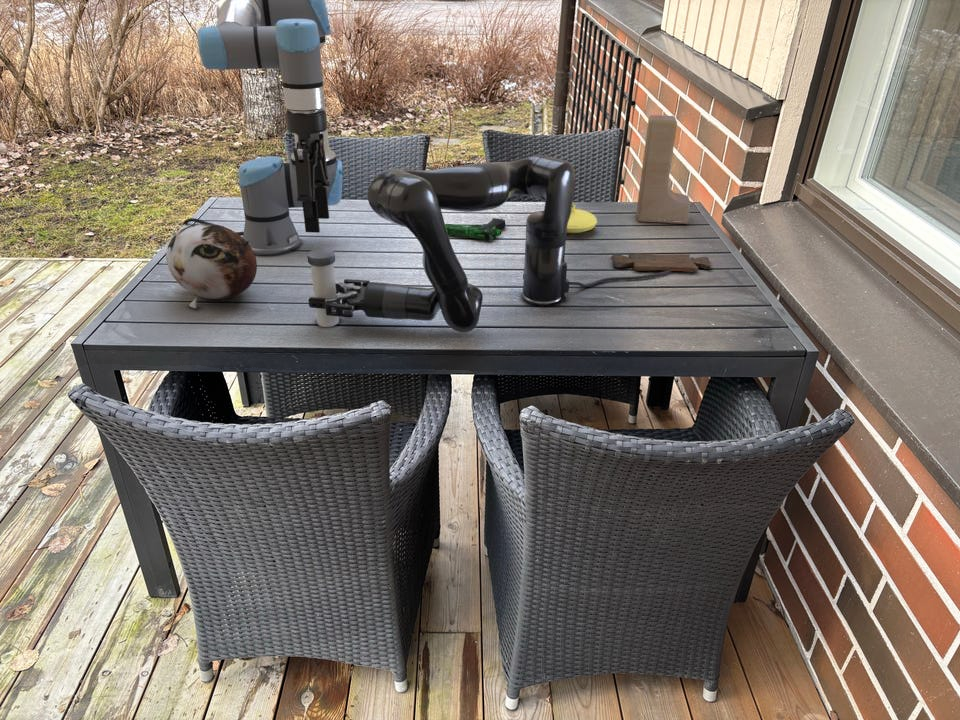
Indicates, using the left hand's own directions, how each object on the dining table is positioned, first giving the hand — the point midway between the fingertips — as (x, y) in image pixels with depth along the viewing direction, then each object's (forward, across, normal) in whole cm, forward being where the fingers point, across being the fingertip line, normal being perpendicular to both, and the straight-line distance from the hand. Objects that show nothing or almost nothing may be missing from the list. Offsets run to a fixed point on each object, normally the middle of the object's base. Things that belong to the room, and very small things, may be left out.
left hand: (317, 224), depth 147 cm
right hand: (+16, 0, -2) cm, 16 cm away
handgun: (+23, -58, +30) cm, 69 cm away
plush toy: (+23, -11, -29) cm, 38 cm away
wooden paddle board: (+23, -38, +80) cm, 91 cm away
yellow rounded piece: (+23, -63, +57) cm, 88 cm away
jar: (+23, 0, 0) cm, 23 cm away
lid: (+7, 0, 0) cm, 7 cm away
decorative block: (+23, -74, +86) cm, 116 cm away
